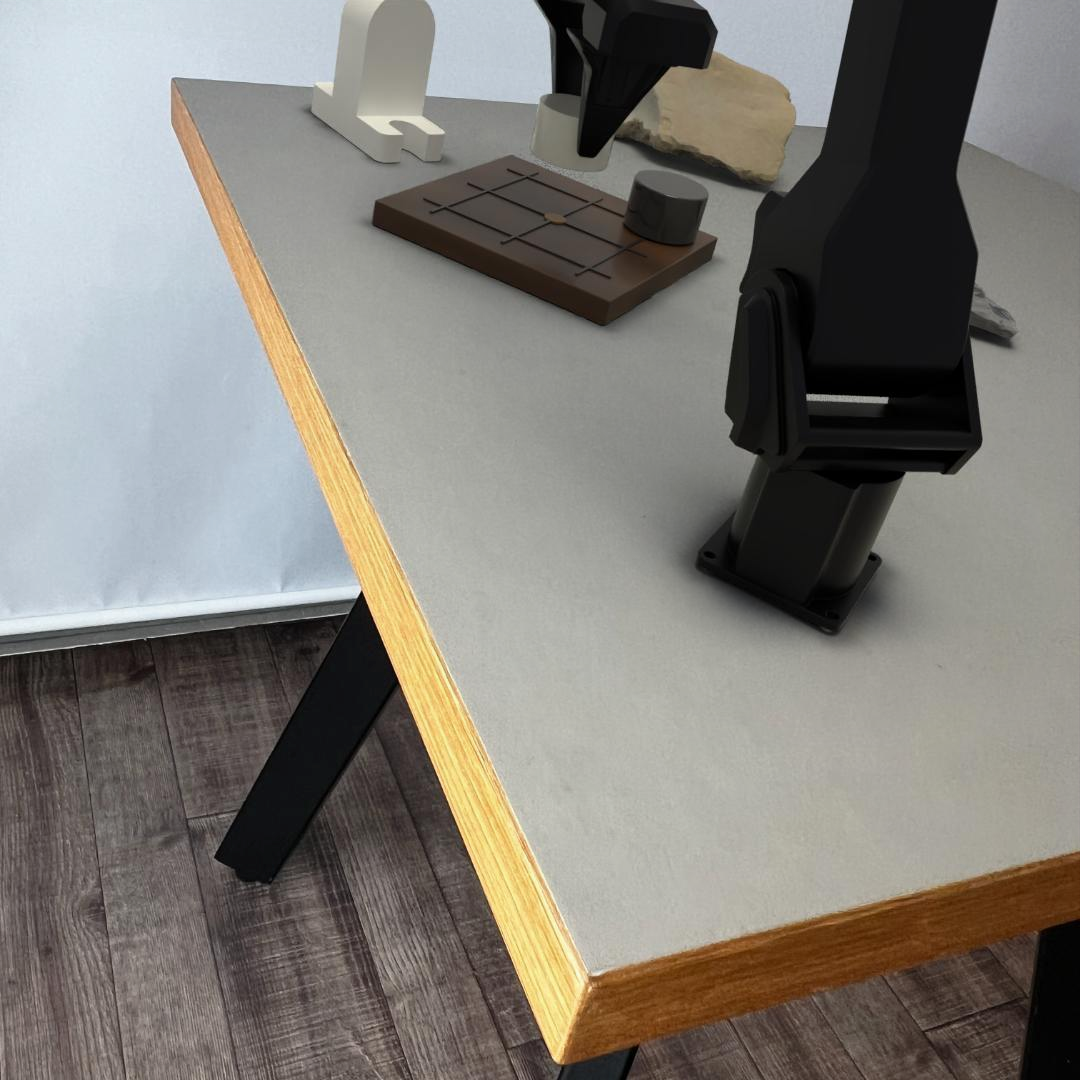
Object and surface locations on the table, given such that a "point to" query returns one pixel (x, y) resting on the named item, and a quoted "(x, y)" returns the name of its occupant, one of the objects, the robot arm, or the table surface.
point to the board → (541, 236)
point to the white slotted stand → (382, 80)
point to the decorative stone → (718, 118)
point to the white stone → (563, 135)
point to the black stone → (665, 207)
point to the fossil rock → (991, 315)
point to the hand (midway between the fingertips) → (573, 141)
